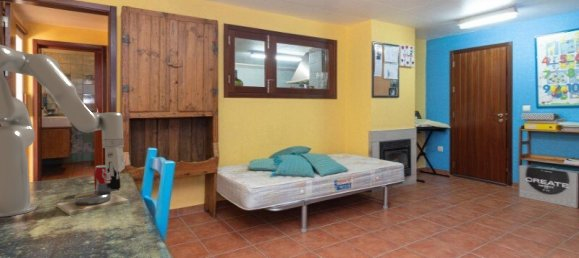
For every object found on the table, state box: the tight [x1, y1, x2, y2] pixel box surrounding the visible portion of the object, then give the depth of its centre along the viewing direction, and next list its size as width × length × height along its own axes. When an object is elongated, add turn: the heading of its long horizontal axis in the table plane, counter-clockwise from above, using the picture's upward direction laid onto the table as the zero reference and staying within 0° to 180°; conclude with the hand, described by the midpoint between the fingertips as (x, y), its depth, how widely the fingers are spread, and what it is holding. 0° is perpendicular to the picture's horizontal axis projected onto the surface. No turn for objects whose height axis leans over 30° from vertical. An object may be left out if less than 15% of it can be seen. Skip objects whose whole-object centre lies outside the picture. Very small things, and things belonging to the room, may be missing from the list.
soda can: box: [93, 164, 110, 191], centre depth 147 cm, size 7×7×12 cm
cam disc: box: [74, 183, 120, 205], centre depth 129 cm, size 14×12×6 cm
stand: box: [56, 192, 129, 216], centre depth 128 cm, size 20×16×3 cm
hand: (115, 188), depth 132 cm, fingers closed
